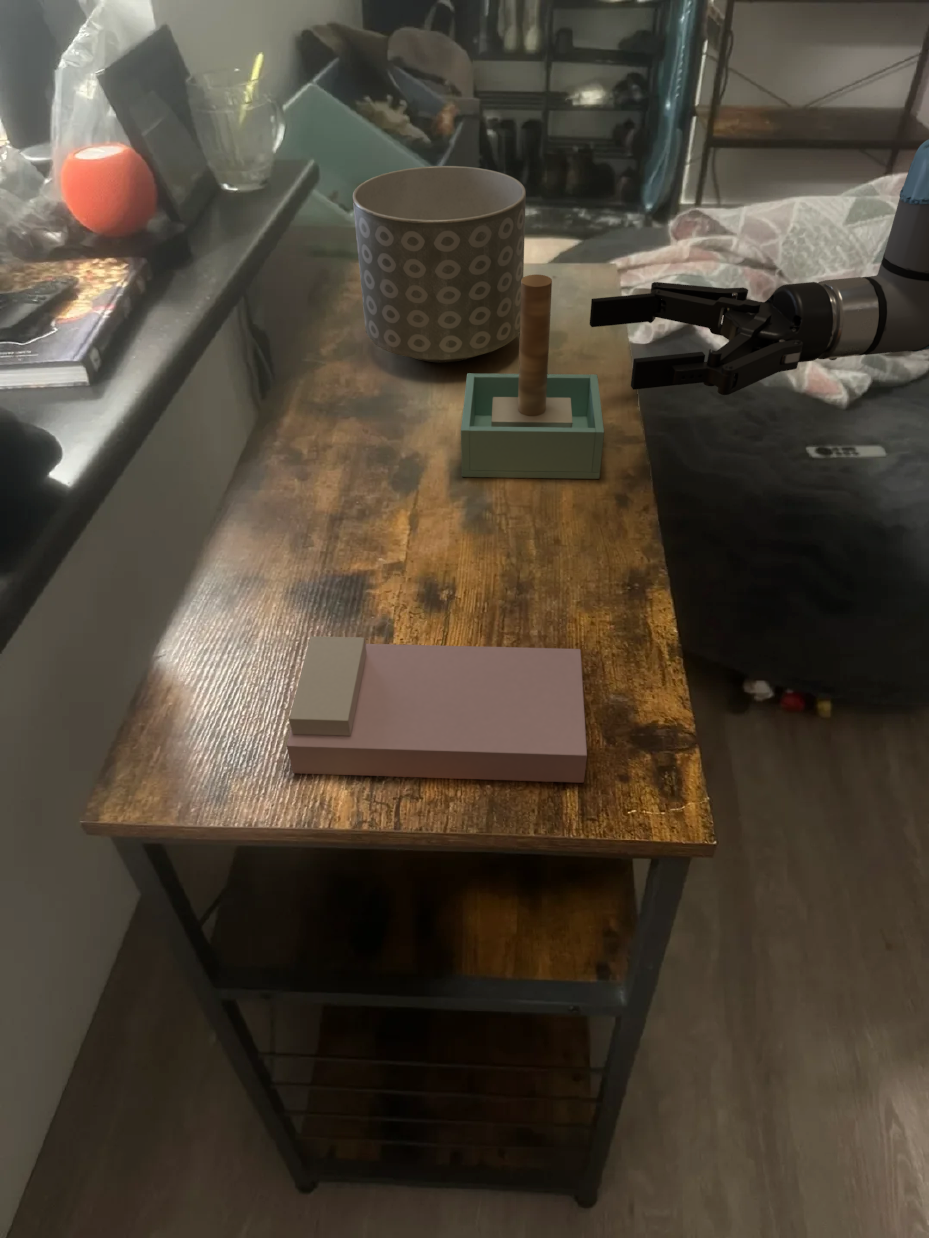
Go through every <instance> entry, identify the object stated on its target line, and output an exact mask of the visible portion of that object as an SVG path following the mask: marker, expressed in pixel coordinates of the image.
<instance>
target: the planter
mask: <svg viewBox="0 0 929 1238" xmlns="http://www.w3.org/2000/svg"><path fill="white" fill-rule="evenodd" d="M526 195H527V193H526V188H525V186H524V185H523V184H522V182H521V181H520V180H518V179H516V178H515V177H513V176H511V175H509V174H506V173H503V172H500V171H496V170H493V169H492V170H491V169H486V168H480V167H474V166H473V167H472V166H463V165H462V166H458V165H432V166H420V167H419V166H418V167H410V168H404V169H403V168H402V169H398V170H393V171H390V172H386V173H385V172H384V173H382V174H379V175H376V176H373V177H370V178H369V179H367V180H365V181H363V182H362V183H360V184H359V185H358V186H357V187H356V188H355V189H354V191H353V193H352V206H353V216H354V226H355V227H354V228H355V234H356V235H355V236H356V237H355V238H356V247H357V257H358V258H357V259H358V267H359V268H358V269H359V278H360V287H361V288H360V289H361V299H362V308H363V318H364V330H365V333H366V335H367V337H368V339H369V340H370V341H371V342H372V343H373V344H374V345H376V346H378V347H379V348H381V349H382V350H385V351H387V352H389V353H393V354H395V355H397V356H398V355H399V356H403V357H407V358H413V359H414V360H418V361H423V362H428V363H440V364H443V363H445V364H446V363H454V362H455V363H456V362H460V361H461V362H462V361H465V360H469V359H472V358H475V357H477V356H481V355H485V354H488V353H492V352H494V351H497V350H499V349H501V348H503V347H505V346H506V345H508V344H510V343H511V342H512V341H514V340H515V339H516V338H517V337H518V335H520V305H521V280H522V278H523V277H524V267H525V265H524V264H525V235H526V233H525V229H526V197H527V196H526Z"/></svg>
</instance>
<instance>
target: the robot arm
mask: <svg viewBox="0 0 929 1238" xmlns="http://www.w3.org/2000/svg"><path fill="white" fill-rule="evenodd" d="M882 255H883V256H882V259H881V262H880V265H879V269H878V272H877V274H876V275H871V276H855V277H846V278H845V277H844V278H836V279H835V278H834V279H825V280H821V281H819V282H817V281H807V282H799V283H798V282H797V283H787V284H783V285H781V286H779V287H778V288H776V289H775V290H774V291H773V293H772V294H771V296H770V297H769V298H767V300H765V301H758V300H755V299H747V298H748V293H749V289H748V288H747V287H726V288H725V287H715V286H704V285H694V284H682V283H671V282H660V281H654V282H651V286H650V292H649V293H640V294H639V293H638V294H628V295H617V296H607V297H605V296H604V297H598V298H597V297H595V298H591V301H590V314H589V326H590V327H591V328H600V327H609V326H621V325H629V324H631V325H632V324H641V323H648V324H652V323H653V322H654V321H655V320H656V318H659V319H662V320H668V321H672V322H678V323H681V324H686V325H692V326H697V327H702V328H705V329H708V330H709V331H710V333H711V334H712V335H716V336H720V337H723V338H725V339H727V340H728V342H727V343H725V344H724V345H722V346H721V347H720V348H718V349H717V350H713V349H710V348H709V350H708V354H707V360H706V361H705V359H706V354H705V353H704V352H703V351H695V352H686V353H685V352H684V353H676V354H675V353H673V354H665V355H656V356H646V357H636V358H633V361H632V362H633V364H632V371H631V380H630V387H631V389H632V390H634V391H636V390H645V389H653V388H662V387H674V386H683V385H693V384H701V383H702V384H703V385H704V386H706V387H716V388H717V393H718V394H719V395H721V396H729V395H731V394H734V393H736V392H737V391H740V390H742V389H744V388H747V387H749V386H751V385H753V384H756V383H758V382H760V381H762V380H764V379H766V378H769V377H771V376H773V375H775V374H777V373H781V372H788V371H792V370H793V371H794V370H796V369H797V368H798V365H799V363H805V362H813V361H816V360H817V359H818V360H829V361H836V360H838V359H839V358H848V357H857V356H858V357H859V356H869V355H870V356H871V355H880V354H881V355H882V354H892V353H903V352H912V353H917V352H922V351H924V350H929V138H928V139H927V140H925V141H923V143H921V144H920V145H919V147H918V148H917V150H916V152H915V153H914V156H913V159H912V161H911V163H910V166H909V169H908V171H907V175H906V178H905V180H904V183H903V186H902V187H901V189H900V191H899V199H898V203H897V206H896V210H895V213H894V216H893V221H892V225H891V228H890V231H889V234H888V239H887V243H886V245H885V249H884V253H883V254H882Z"/></svg>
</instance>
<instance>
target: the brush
mask: <svg viewBox="0 0 929 1238" xmlns="http://www.w3.org/2000/svg"><path fill="white" fill-rule="evenodd" d="M552 289H553V280H552V278H551V277H550V276H548V275H545V274H528V275H526V276H525V275H524V276H523V278H522V280H521V305H520V332H519V348H518V374H519V384H518V397H493V402H492V418H491V427H560V428H572V424H573V422H572V407H571V398H552V397H546V394H547V374H549V373H548V370H549V354H550V353H549V352H550V334H551V333H550V332H551V331H550V330H551V312H552V311H551V310H552V292H553V290H552Z"/></svg>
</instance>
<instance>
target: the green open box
mask: <svg viewBox="0 0 929 1238" xmlns="http://www.w3.org/2000/svg"><path fill="white" fill-rule="evenodd" d="M465 380H466V381H465V391H464V399H463V407H462V416H461V427H460V451H461V453H460V454H461V456H460V457H461V477H462V478H503V479H504V478H506V479H507V478H508V479H509V478H511V479H573V480H574V479H576V480H577V479H579V480H580V479H581V480H584V479H585V480H600V478H601V467H602V458H603V457H602V456H603V449H604V438H605V427H604V421H603V420H604V419H603V411H602V402H601V395H600V386H599V378H598V374H579V373H578V374H577V373H576V374H575V373H573V374H572V373H568V374H567V373H548V374H547V394H546V397H552V398H571V407H572V422H573V424H572V428H560V427H491V418H492V402H493V397H518V384H519V373H474V372H472V373H470V372H469V373H468V372H467V374H466V379H465Z"/></svg>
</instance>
